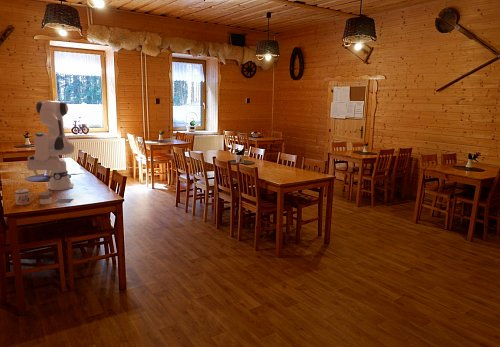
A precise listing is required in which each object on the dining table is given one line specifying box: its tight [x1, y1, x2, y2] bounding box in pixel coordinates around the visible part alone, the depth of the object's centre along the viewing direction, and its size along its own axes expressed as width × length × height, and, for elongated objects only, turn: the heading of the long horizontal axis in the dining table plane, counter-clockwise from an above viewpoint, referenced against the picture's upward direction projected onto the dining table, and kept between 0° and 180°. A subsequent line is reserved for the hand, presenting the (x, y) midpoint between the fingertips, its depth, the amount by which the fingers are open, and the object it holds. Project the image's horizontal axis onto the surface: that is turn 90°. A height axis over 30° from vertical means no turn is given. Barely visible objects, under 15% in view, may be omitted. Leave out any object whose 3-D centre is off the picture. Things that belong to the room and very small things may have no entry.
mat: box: [55, 198, 74, 204], centre depth 269 cm, size 12×10×1 cm
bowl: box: [39, 196, 53, 205], centre depth 263 cm, size 6×6×5 cm
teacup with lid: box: [13, 186, 35, 206], centre depth 264 cm, size 12×9×12 cm
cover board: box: [37, 191, 53, 200], centre depth 262 cm, size 9×6×3 cm, turn 11°
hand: (44, 176), depth 262 cm, fingers open, 8 cm apart
